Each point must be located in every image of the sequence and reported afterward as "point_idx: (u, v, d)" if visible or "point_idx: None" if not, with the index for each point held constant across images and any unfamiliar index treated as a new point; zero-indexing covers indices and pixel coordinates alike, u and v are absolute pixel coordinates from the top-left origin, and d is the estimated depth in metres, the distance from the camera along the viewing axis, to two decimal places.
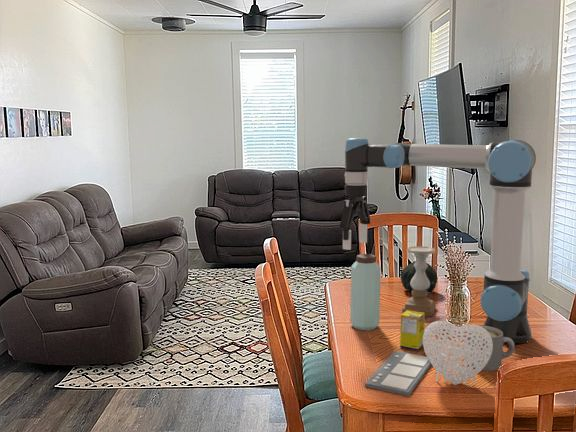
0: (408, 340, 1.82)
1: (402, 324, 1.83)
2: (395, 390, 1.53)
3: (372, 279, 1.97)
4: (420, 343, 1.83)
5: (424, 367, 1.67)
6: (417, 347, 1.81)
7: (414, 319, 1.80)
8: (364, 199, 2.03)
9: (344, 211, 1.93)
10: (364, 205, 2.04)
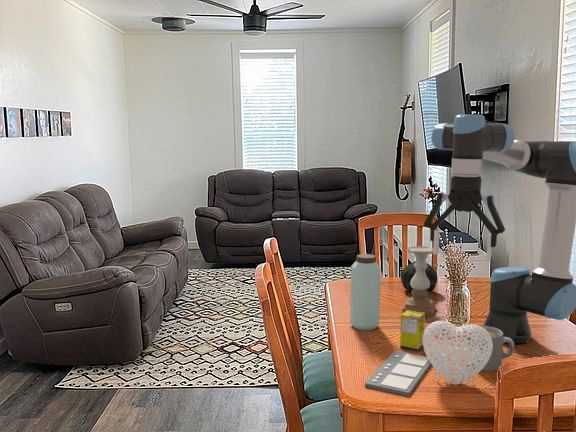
0: (408, 340, 1.82)
1: (402, 324, 1.83)
2: (395, 390, 1.53)
3: (372, 279, 1.97)
4: (420, 343, 1.83)
5: (424, 367, 1.67)
6: (417, 347, 1.81)
7: (414, 319, 1.80)
8: (487, 199, 1.48)
9: None
10: None
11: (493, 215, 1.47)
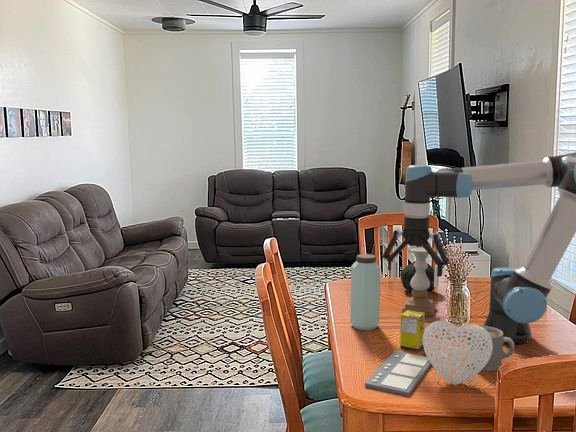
0: (408, 340, 1.82)
1: (402, 324, 1.83)
2: (395, 390, 1.53)
3: (372, 279, 1.97)
4: (420, 343, 1.83)
5: (424, 367, 1.67)
6: (417, 347, 1.81)
7: (414, 319, 1.80)
8: (433, 236, 1.76)
9: None
10: (435, 243, 1.76)
11: (439, 250, 1.76)
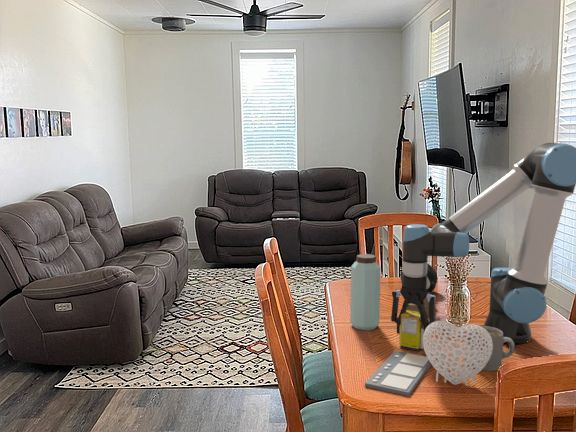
0: (408, 340, 1.82)
1: (402, 324, 1.83)
2: (395, 390, 1.53)
3: (372, 279, 1.97)
4: (420, 343, 1.83)
5: (424, 367, 1.67)
6: (417, 347, 1.81)
7: (414, 319, 1.80)
8: None
9: None
10: (429, 305, 1.80)
11: (430, 312, 1.79)
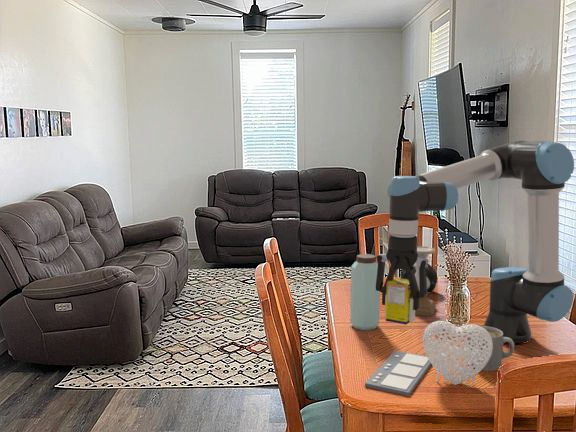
0: (395, 312, 1.55)
1: (388, 293, 1.56)
2: (395, 390, 1.53)
3: (372, 279, 1.97)
4: None
5: (424, 367, 1.67)
6: (405, 320, 1.54)
7: (402, 287, 1.53)
8: (421, 262, 1.52)
9: None
10: None
11: (420, 279, 1.53)
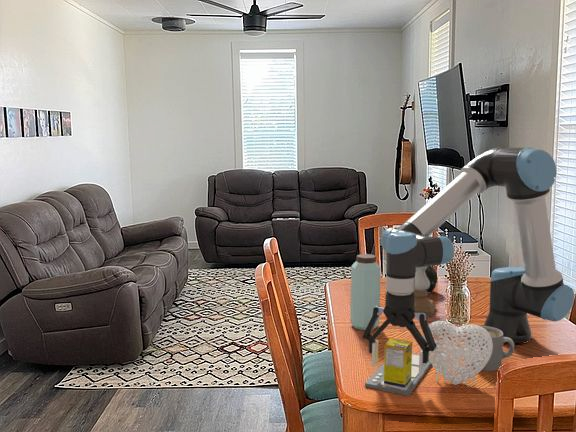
0: (393, 375, 1.54)
1: (386, 355, 1.54)
2: (395, 390, 1.53)
3: (372, 279, 1.97)
4: (407, 377, 1.55)
5: (424, 367, 1.67)
6: (404, 383, 1.53)
7: (400, 350, 1.52)
8: None
9: None
10: None
11: (425, 333, 1.50)
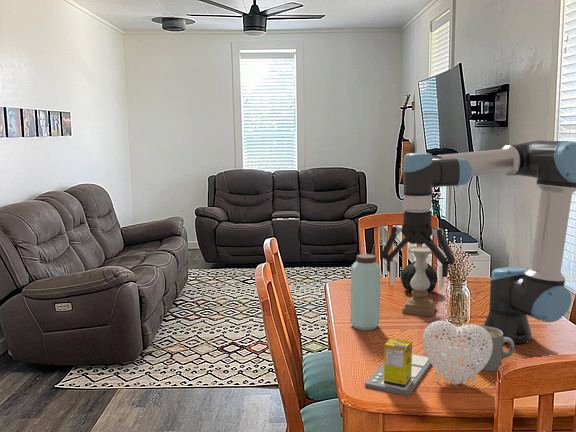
0: (393, 375, 1.54)
1: (386, 355, 1.54)
2: (395, 390, 1.53)
3: (372, 279, 1.97)
4: (407, 377, 1.55)
5: (424, 367, 1.67)
6: (404, 383, 1.53)
7: (400, 350, 1.52)
8: (437, 232, 1.57)
9: None
10: (439, 240, 1.57)
11: (443, 247, 1.57)
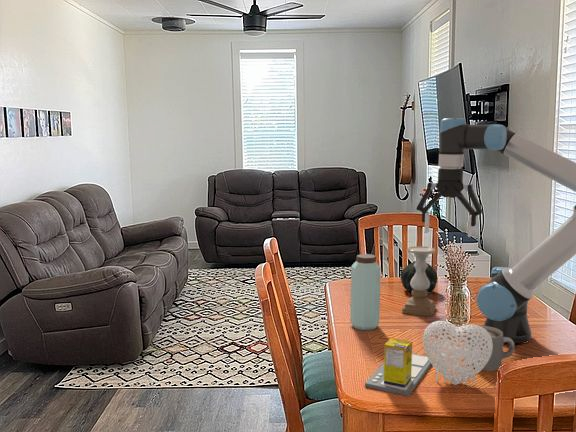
0: (393, 375, 1.54)
1: (386, 355, 1.54)
2: (395, 390, 1.53)
3: (372, 279, 1.97)
4: (407, 377, 1.55)
5: (424, 367, 1.67)
6: (404, 383, 1.53)
7: (400, 350, 1.52)
8: (467, 187, 1.81)
9: None
10: (469, 194, 1.82)
11: (472, 200, 1.81)
